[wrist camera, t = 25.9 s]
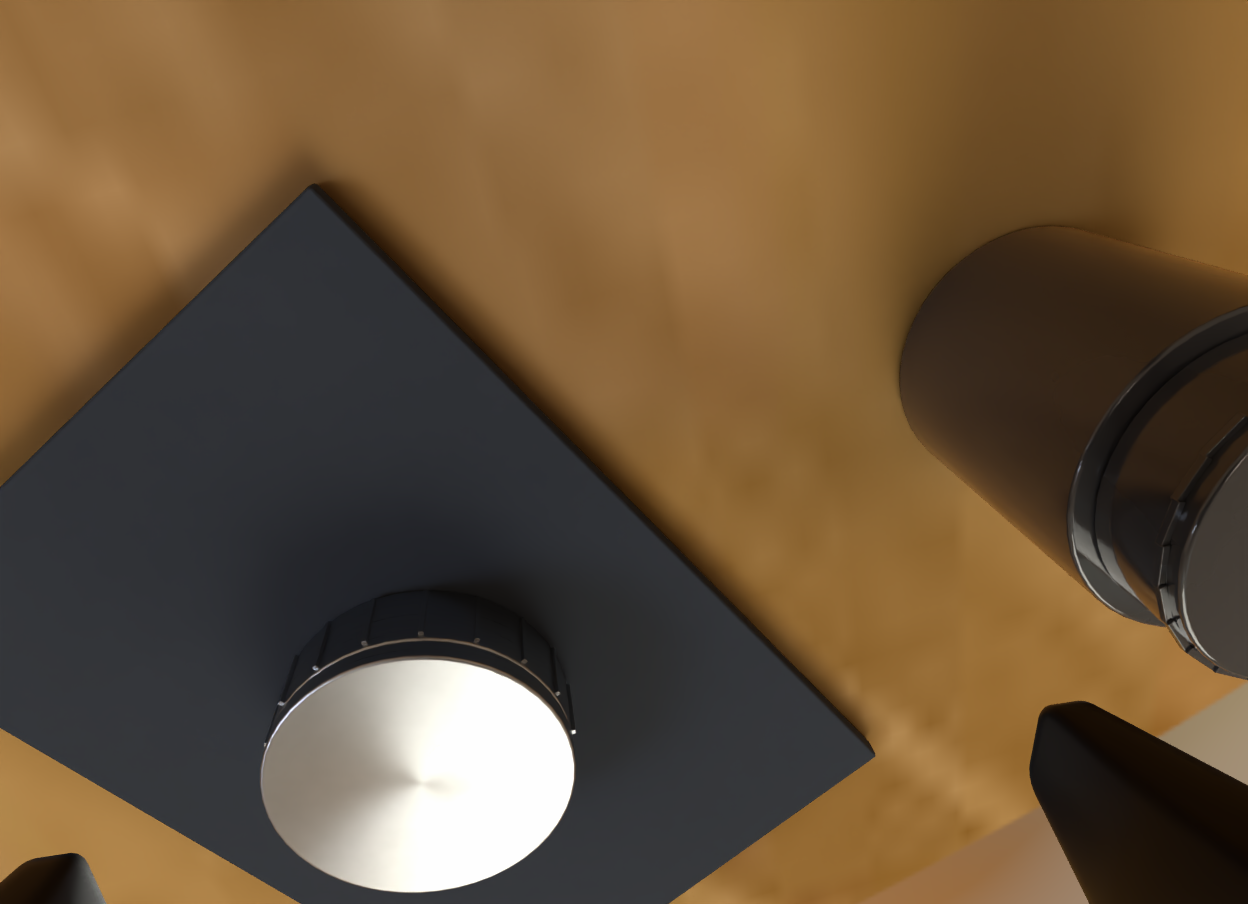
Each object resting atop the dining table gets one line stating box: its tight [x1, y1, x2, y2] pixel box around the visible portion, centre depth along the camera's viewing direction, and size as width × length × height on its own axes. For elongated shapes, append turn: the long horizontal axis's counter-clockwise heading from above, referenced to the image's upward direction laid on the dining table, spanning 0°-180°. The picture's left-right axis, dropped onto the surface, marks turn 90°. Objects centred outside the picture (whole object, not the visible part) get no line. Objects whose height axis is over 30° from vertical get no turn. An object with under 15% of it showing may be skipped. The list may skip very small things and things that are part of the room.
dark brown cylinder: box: [900, 226, 1248, 680], centre depth 16 cm, size 6×6×8 cm
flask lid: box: [260, 590, 576, 893], centre depth 20 cm, size 7×7×2 cm
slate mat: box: [0, 184, 875, 904], centre depth 21 cm, size 20×14×1 cm
